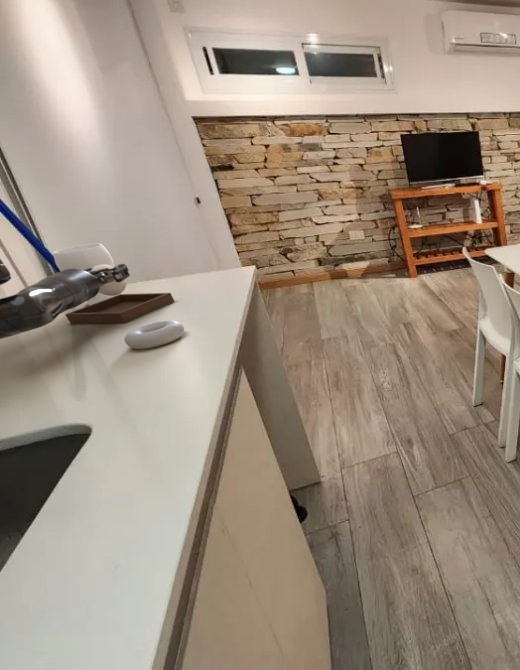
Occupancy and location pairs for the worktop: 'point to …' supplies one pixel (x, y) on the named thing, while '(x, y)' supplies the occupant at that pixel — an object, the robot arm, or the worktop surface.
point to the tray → (120, 308)
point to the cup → (84, 261)
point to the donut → (154, 334)
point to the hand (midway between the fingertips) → (108, 269)
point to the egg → (111, 284)
